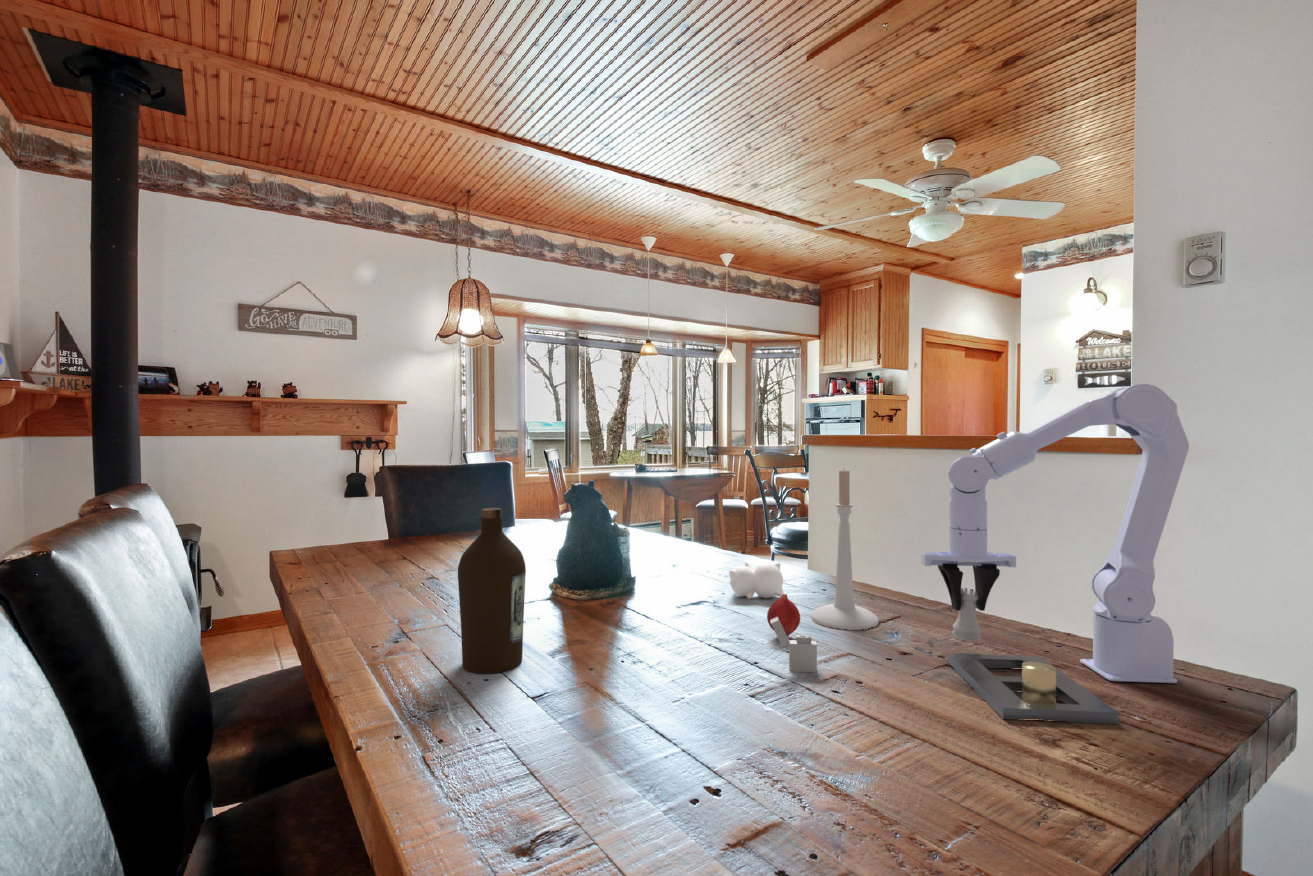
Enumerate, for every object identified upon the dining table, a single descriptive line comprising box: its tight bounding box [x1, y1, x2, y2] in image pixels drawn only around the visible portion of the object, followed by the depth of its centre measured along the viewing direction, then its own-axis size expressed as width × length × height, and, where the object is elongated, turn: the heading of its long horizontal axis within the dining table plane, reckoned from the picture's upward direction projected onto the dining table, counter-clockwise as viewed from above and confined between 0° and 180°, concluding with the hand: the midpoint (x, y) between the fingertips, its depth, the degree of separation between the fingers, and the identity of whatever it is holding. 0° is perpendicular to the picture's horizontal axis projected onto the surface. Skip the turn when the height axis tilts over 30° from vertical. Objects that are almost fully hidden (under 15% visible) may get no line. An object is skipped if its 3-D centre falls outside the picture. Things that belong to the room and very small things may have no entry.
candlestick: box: [810, 468, 880, 631], centre depth 124 cm, size 13×13×30 cm
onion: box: [766, 593, 801, 638], centre depth 113 cm, size 6×6×8 cm
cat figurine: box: [728, 561, 785, 599], centre depth 142 cm, size 9×11×12 cm
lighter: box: [770, 617, 818, 673], centre depth 99 cm, size 7×2×8 cm, turn 84°
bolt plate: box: [946, 652, 1120, 725], centre depth 90 cm, size 14×20×5 cm
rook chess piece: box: [951, 587, 982, 642], centre depth 106 cm, size 4×4×8 cm
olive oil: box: [457, 507, 527, 675], centre depth 101 cm, size 11×11×25 cm
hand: (968, 608), depth 105 cm, fingers closed on rook chess piece, 3 cm apart
